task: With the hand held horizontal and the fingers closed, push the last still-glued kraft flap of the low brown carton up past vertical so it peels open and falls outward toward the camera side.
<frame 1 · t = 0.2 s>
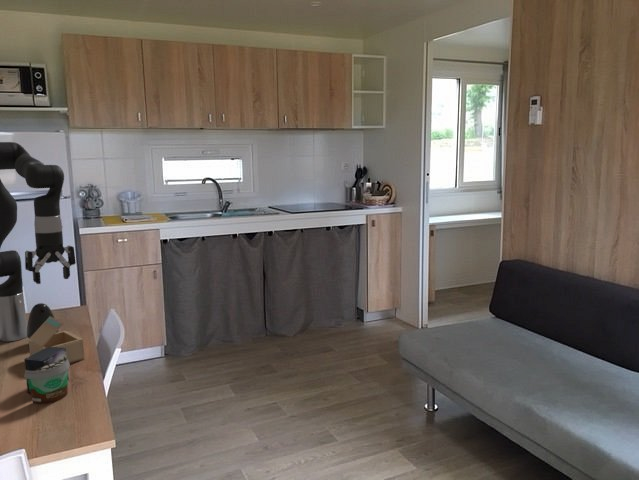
hand: (52, 281, 166), 29 cm above the table, tool pointing down, fingers open, 8 cm apart
small box: (49, 387, 157), on the table
black egg-shaped piece: (44, 344, 194), on the table
food container: (55, 399, 149), on the table
carton: (57, 359, 178), on the table
flap: (46, 331, 175), point 11 cm above the table, hinge at -50.0°
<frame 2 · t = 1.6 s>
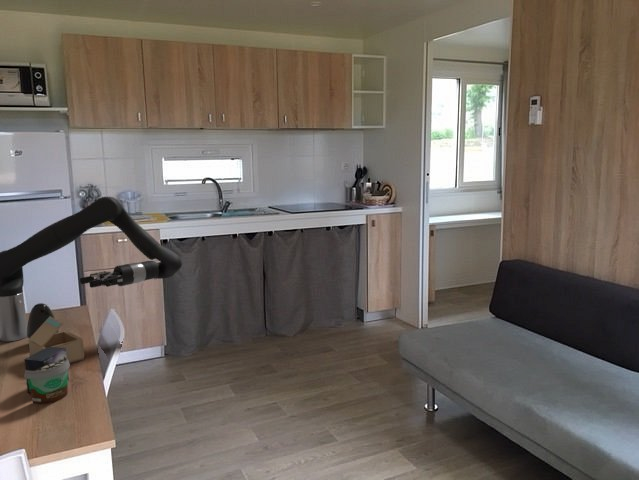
hand: (85, 282, 182), 24 cm above the table, tool horizontal, fingers open, 7 cm apart
nothing on the table moved.
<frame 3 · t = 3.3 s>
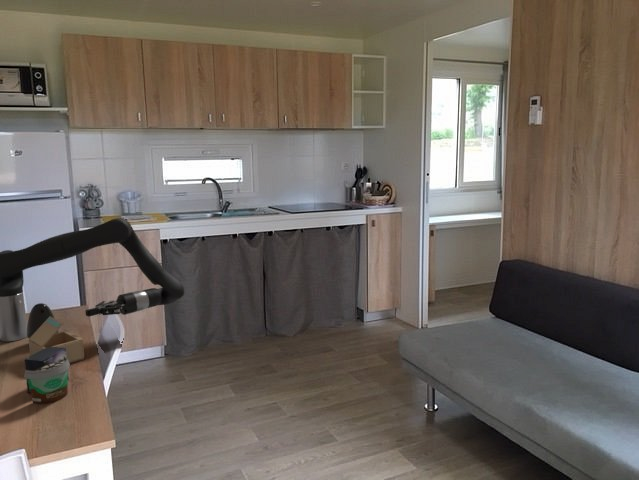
hand: (86, 313, 184), 13 cm above the table, tool horizontal, fingers closed
nothing on the table moved.
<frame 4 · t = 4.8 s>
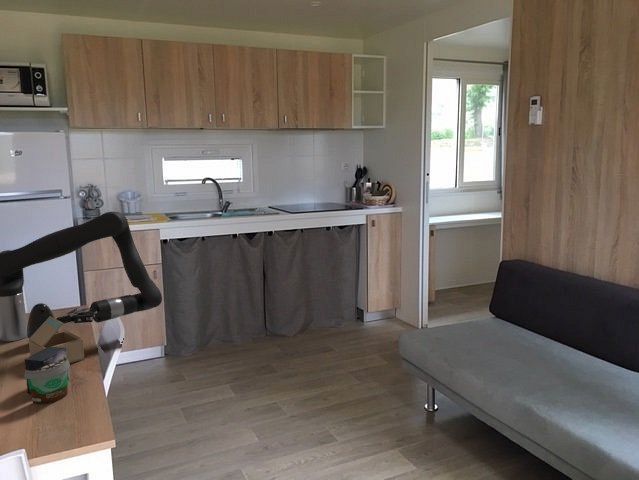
hand: (57, 321, 177), 13 cm above the table, tool horizontal, fingers closed
flap: (46, 331, 175), point 11 cm above the table, hinge at -50.0°, touching gripper
everything else where it was.
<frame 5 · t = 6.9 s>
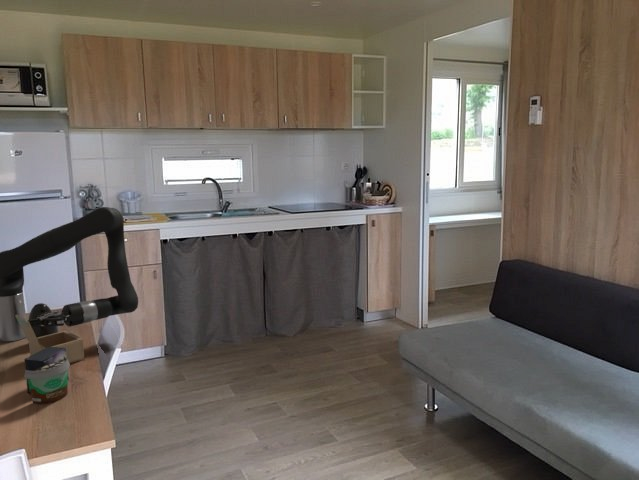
hand: (26, 324, 170), 14 cm above the table, tool horizontal, fingers closed
flap: (27, 330, 170), point 12 cm above the table, hinge at 16.0°, touching gripper
everything else where it was.
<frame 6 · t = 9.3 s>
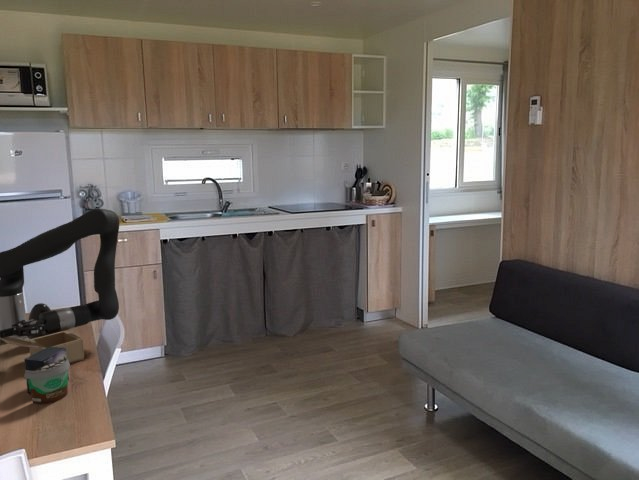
flap: (17, 341, 168), point 10 cm above the table, hinge at 63.3°
everything else where it was.
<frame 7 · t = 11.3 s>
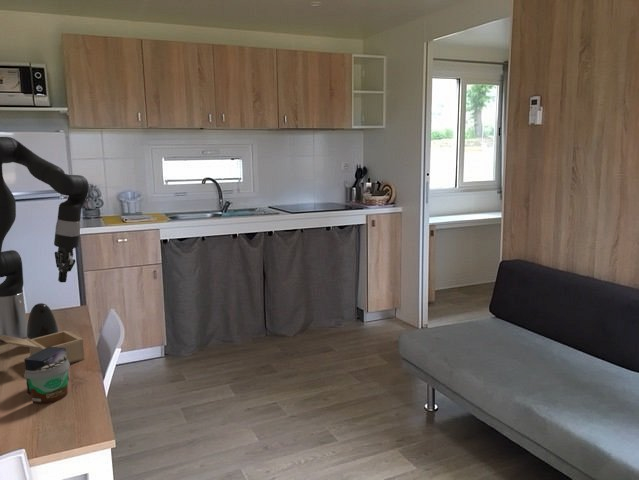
hand: (62, 281, 183), 25 cm above the table, tool pointing down, fingers closed
nothing on the table moved.
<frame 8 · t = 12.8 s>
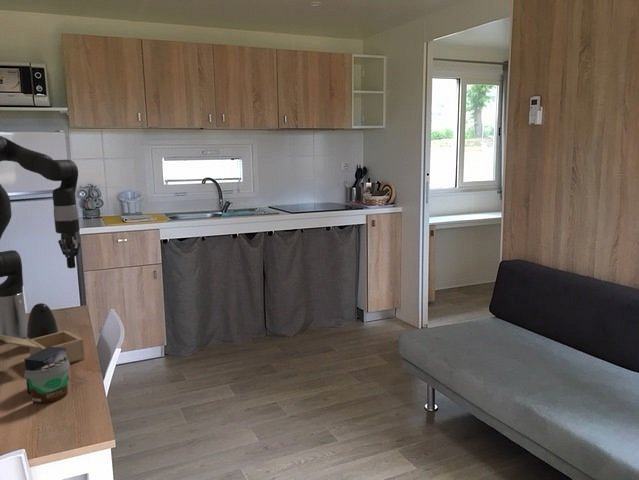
hand: (71, 267, 185), 29 cm above the table, tool pointing down, fingers closed
nothing on the table moved.
at the end: flap at +63° (first picture: -50°) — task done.
